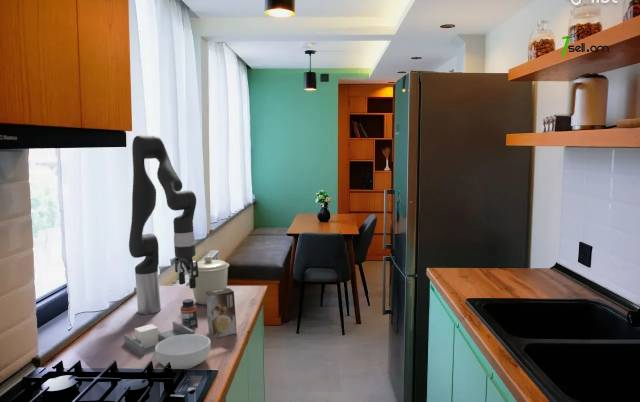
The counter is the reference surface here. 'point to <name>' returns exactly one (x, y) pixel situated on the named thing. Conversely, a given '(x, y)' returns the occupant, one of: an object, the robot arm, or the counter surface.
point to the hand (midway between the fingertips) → (187, 286)
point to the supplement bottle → (189, 314)
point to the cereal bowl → (183, 350)
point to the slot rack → (177, 330)
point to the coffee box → (221, 312)
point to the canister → (210, 278)
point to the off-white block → (147, 335)
